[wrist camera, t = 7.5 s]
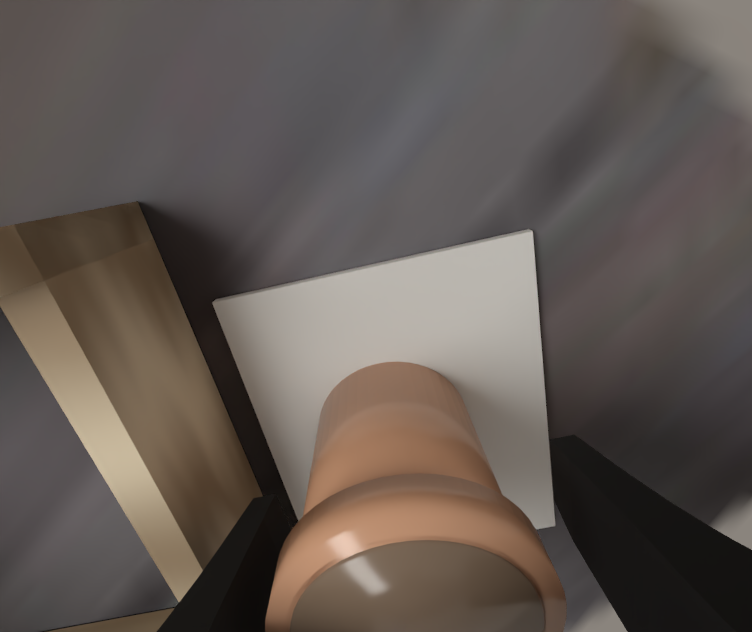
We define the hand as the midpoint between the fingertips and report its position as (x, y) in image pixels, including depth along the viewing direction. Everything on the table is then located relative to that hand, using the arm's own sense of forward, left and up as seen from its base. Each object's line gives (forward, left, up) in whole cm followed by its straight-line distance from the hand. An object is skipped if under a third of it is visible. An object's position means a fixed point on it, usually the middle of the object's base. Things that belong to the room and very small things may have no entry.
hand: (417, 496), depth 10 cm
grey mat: (0, 0, -3) cm, 3 cm away
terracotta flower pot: (0, 0, -3) cm, 3 cm away
